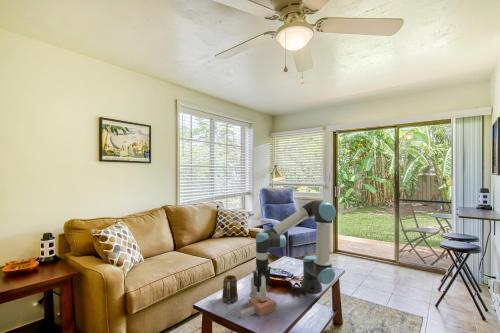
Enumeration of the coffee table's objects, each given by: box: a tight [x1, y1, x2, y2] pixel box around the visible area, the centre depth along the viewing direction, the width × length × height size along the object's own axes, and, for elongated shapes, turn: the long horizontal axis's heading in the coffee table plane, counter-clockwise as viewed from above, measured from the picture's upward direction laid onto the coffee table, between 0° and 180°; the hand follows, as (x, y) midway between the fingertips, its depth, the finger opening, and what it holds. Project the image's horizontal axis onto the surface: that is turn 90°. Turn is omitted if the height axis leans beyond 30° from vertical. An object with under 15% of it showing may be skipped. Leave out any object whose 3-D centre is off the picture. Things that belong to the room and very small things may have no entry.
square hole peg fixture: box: [238, 277, 277, 319], centre depth 160 cm, size 22×17×16 cm
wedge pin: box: [258, 275, 267, 302], centre depth 161 cm, size 4×3×15 cm
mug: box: [221, 274, 239, 305], centre depth 169 cm, size 16×11×15 cm
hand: (261, 295), depth 160 cm, fingers closed on wedge pin, 3 cm apart
